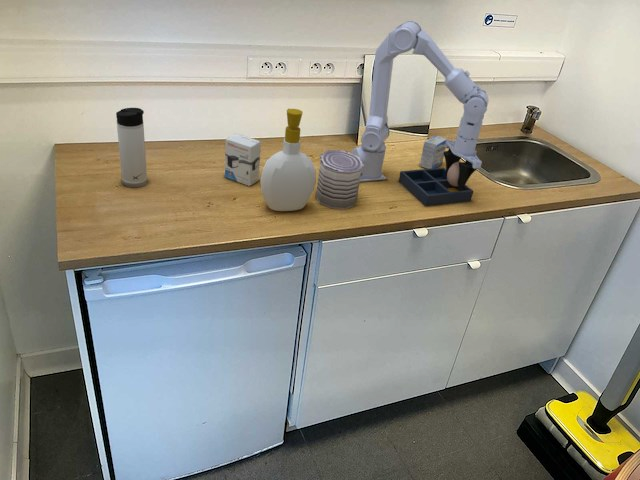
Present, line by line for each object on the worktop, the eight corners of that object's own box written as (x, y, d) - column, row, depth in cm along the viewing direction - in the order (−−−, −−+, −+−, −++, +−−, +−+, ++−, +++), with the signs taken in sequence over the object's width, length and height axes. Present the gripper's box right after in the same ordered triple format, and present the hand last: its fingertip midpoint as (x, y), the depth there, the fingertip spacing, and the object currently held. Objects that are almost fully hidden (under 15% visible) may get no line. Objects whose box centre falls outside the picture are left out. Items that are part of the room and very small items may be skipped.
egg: (463, 191, 154) (470, 167, 150) (444, 188, 154) (451, 164, 150) (462, 183, 158) (469, 159, 154) (444, 180, 158) (450, 156, 155)
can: (347, 187, 155) (353, 148, 148) (363, 207, 146) (371, 167, 140) (309, 190, 151) (314, 150, 144) (324, 211, 142) (330, 169, 135)
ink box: (223, 177, 152) (224, 138, 145) (234, 171, 155) (235, 132, 149) (249, 186, 149) (251, 146, 142) (259, 180, 152) (261, 141, 146)
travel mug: (141, 189, 141) (136, 115, 130) (117, 185, 141) (110, 110, 131) (152, 179, 146) (148, 107, 135) (129, 175, 147) (123, 103, 136)
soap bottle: (307, 196, 148) (317, 103, 134) (316, 213, 141) (328, 116, 127) (254, 199, 143) (260, 103, 129) (262, 216, 136) (268, 117, 122)
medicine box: (431, 171, 171) (437, 145, 166) (418, 166, 173) (424, 140, 168) (442, 164, 176) (448, 139, 172) (430, 159, 178) (436, 134, 174)
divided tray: (425, 206, 150) (428, 195, 149) (398, 181, 162) (400, 171, 160) (470, 201, 156) (473, 191, 155) (441, 177, 168) (443, 167, 166)
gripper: (495, 145, 144) (482, 191, 151) (464, 125, 155) (452, 168, 162) (474, 147, 141) (461, 193, 149) (443, 126, 152) (432, 170, 159)
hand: (455, 180), depth 155 cm, fingers closed on egg, 5 cm apart
